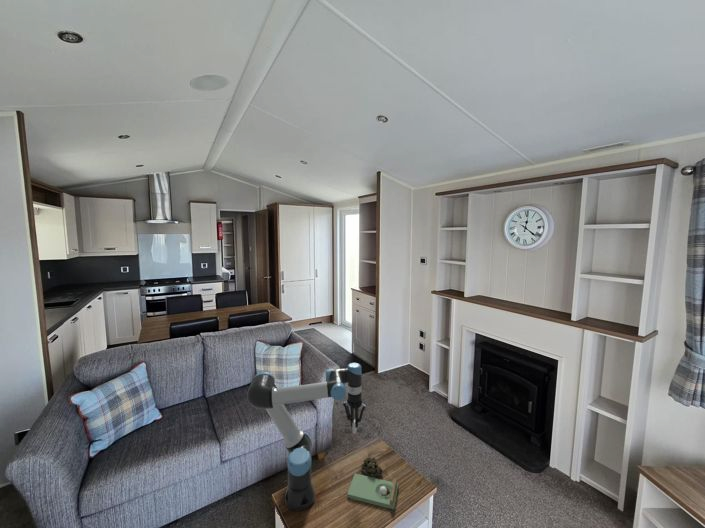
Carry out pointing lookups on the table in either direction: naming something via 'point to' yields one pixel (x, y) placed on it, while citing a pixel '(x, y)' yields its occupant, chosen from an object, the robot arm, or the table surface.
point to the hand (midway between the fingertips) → (354, 432)
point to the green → (373, 491)
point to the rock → (371, 468)
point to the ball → (383, 490)
